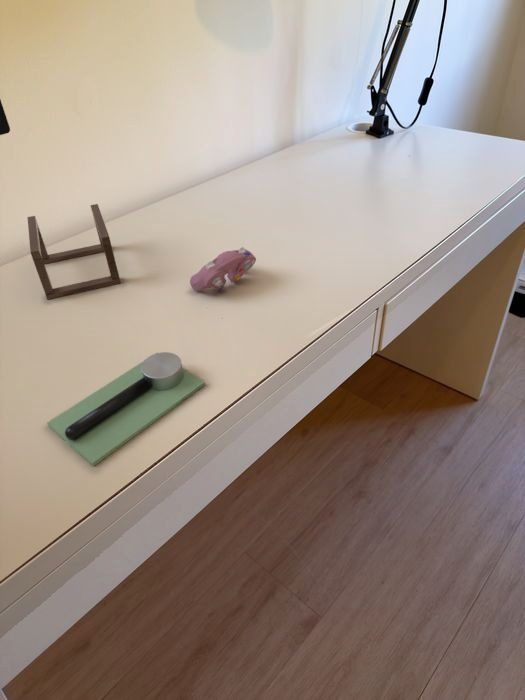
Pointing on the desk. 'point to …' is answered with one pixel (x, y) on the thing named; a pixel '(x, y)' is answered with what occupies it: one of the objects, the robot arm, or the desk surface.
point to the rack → (43, 258)
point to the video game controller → (223, 269)
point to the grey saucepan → (133, 391)
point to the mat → (121, 414)
